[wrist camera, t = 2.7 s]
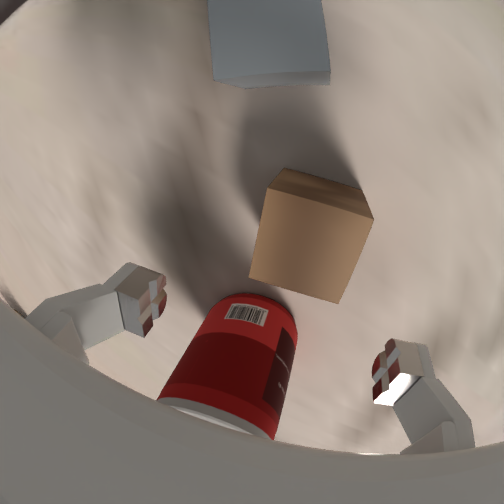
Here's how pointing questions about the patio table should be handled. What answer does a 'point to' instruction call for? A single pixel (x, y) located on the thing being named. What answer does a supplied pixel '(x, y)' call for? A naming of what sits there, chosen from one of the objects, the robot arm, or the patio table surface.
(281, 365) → the canned food
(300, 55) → the grey block
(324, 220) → the walnut block
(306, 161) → the patio table surface
